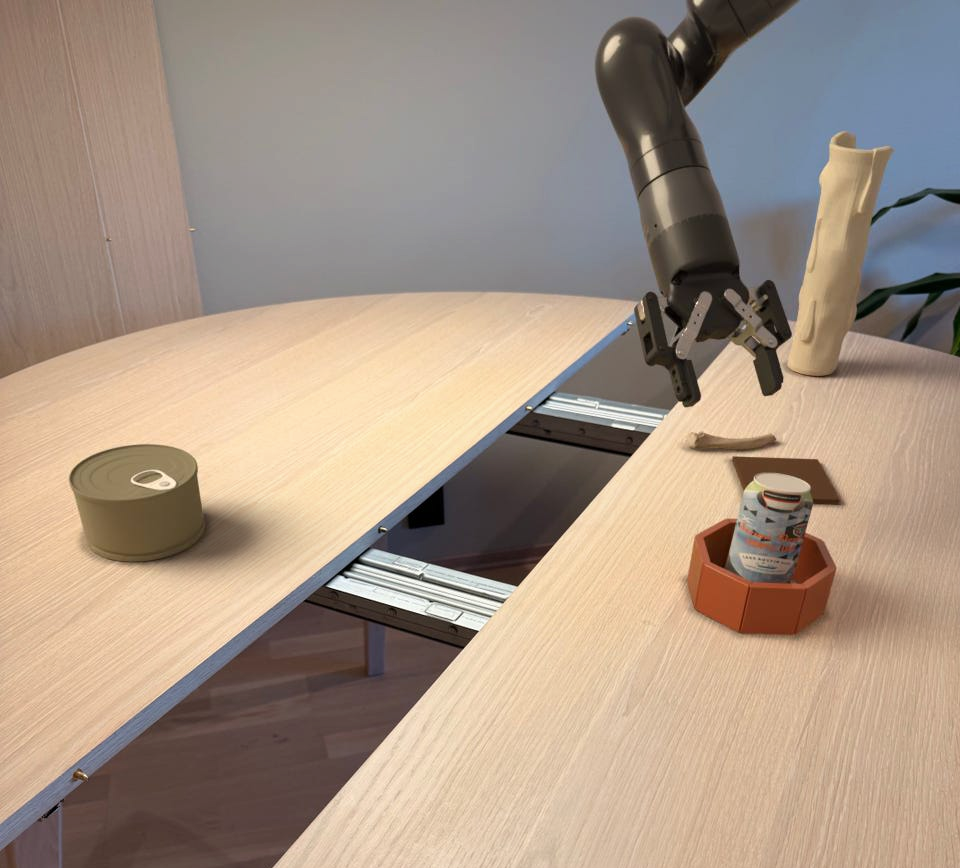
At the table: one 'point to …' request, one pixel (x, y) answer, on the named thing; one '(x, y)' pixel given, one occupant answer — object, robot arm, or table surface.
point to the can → (138, 501)
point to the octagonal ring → (758, 586)
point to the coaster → (789, 466)
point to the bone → (726, 441)
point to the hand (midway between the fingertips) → (733, 398)
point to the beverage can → (770, 528)
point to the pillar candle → (836, 254)
